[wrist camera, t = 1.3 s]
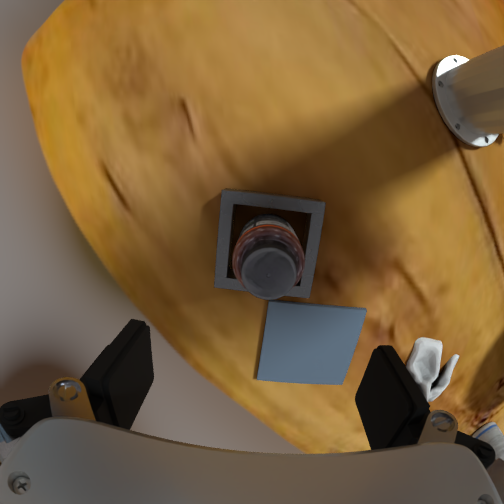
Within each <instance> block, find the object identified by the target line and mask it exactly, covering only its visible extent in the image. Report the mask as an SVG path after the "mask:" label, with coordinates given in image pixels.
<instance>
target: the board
mask: <svg viewBox="0 0 504 504" xmlns="http://www.w3.org/2000/svg"><path fill="white" fill-rule="evenodd" d="M366 312H367V310H366V308H357V307H344V306H332V305H321V304H310V303H299V302H290V301H280V300H269V303H268V310H267V317H266V323H265V330H264V336H263V343H262V349H261V356H260V362H259V368H258V374H257V380H263V381H274V382H287V383H304V384H333V385H342V384H343V381H344V378H345V376H346V373H347V370H348V367H349V365H350V362H351V359H352V356H353V353H354V350H355V347H356V344H357V341H358V338H359V335H360V332H361V329H362V325H363V322H364V319H365V315H366Z"/></svg>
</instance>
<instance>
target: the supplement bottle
mask: <svg viewBox="0 0 504 504" xmlns="http://www.w3.org/2000/svg"><path fill="white" fill-rule="evenodd" d="M232 265H233V271H234V274H235V276H236V278H237V280H238V281H239V283H240V284H241V285H242V286H243V287H244V288H245V289H247V290H248V291H249V292H250V293H251V294H252V295H254V296H256V297H258V298H261V299H265V300H272V299H278V298H280V297H282V296H284V295H285V294H287V293H288V292H289V291H290V290H291V289H292V288H293V287H294V286H295V285H296V284H297V283H298V282H299V280H300V278H301V276H302V274H303V271H304V267H305V256H304V252H303V249H302V247H301V244H300V242H299V240H298V238H297V235H296V234H295V232H294V230H293V228H292V227H291V225H290V224H289V223H288V222H287V221H286V220H285V219H284V218H282V217H280V216H278V215H275V214H260V215H258V216H255V217H254V218H252V219H251V220H249V221H248V222H247V223H246V225H245V226H244V227H243V229H242V231H241V234H240V236H239V238H238V241H237V243H236V246H235V248H234V252H233V257H232Z"/></svg>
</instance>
